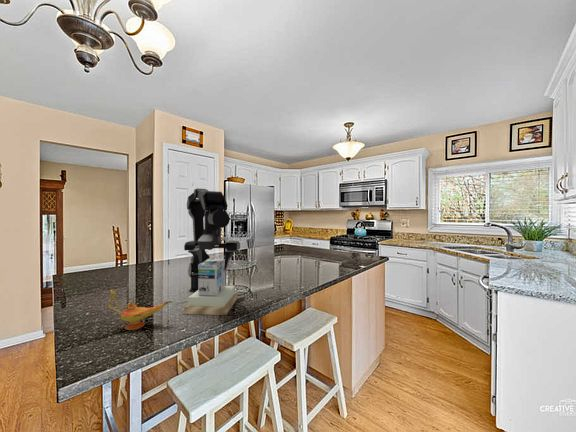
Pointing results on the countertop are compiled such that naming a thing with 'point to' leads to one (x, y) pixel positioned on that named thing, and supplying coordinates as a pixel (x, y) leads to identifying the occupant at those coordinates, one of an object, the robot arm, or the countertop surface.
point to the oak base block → (211, 308)
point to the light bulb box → (211, 277)
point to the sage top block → (212, 298)
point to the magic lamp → (135, 313)
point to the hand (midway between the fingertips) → (212, 269)
